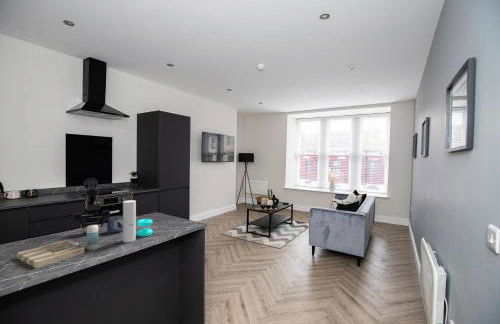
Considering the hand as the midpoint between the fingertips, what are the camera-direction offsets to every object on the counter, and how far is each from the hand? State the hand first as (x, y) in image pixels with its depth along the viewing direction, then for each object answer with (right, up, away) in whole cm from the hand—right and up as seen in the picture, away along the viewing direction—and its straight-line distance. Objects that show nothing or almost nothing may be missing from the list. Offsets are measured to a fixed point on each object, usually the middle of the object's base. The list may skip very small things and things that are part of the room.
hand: (92, 228), depth 142 cm
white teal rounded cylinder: (+2, -11, -3) cm, 11 cm away
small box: (-2, -10, +28) cm, 30 cm away
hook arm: (-8, -8, -5) cm, 12 cm away
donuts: (+21, -11, +22) cm, 32 cm away
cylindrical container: (+17, -11, +11) cm, 23 cm away
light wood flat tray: (-13, -11, -13) cm, 22 cm away
